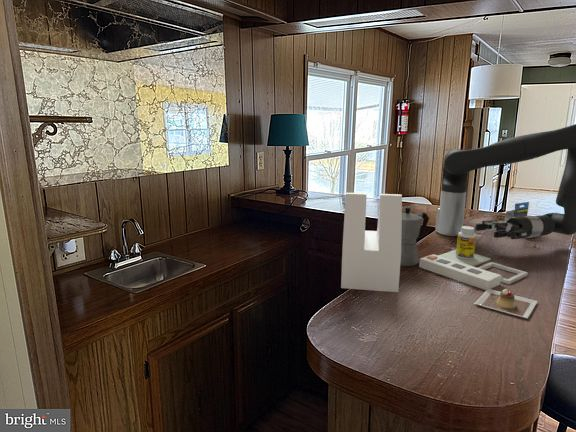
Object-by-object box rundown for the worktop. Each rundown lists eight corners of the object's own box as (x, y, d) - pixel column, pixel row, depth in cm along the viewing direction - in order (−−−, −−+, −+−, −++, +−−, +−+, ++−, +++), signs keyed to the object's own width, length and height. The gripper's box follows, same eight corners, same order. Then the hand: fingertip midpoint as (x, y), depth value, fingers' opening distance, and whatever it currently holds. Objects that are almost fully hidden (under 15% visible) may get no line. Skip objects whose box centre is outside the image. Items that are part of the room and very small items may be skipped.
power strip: (419, 267, 130) (419, 257, 130) (437, 260, 136) (438, 251, 135) (487, 290, 113) (488, 279, 112) (504, 282, 119) (506, 271, 118)
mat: (437, 257, 139) (437, 255, 139) (457, 250, 146) (457, 248, 146) (470, 267, 130) (470, 266, 130) (490, 259, 137) (490, 258, 137)
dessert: (537, 305, 106) (540, 287, 105) (527, 322, 97) (530, 303, 96) (487, 292, 114) (489, 275, 112) (473, 307, 105) (475, 289, 104)
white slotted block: (398, 292, 112) (404, 202, 106) (341, 288, 115) (344, 200, 109) (393, 267, 131) (399, 189, 124) (344, 264, 133) (347, 187, 127)
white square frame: (472, 272, 126) (472, 268, 126) (491, 264, 132) (491, 261, 132) (508, 284, 117) (509, 280, 117) (527, 275, 124) (527, 271, 123)
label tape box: (516, 228, 174) (520, 199, 171) (525, 230, 170) (529, 201, 167) (502, 231, 170) (506, 201, 167) (511, 233, 166) (515, 203, 163)
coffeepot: (397, 269, 129) (401, 212, 124) (378, 259, 137) (381, 206, 132) (435, 261, 135) (440, 207, 130) (415, 253, 143) (419, 202, 139)
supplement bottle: (456, 259, 136) (459, 229, 133) (454, 253, 141) (458, 224, 139) (474, 260, 134) (478, 230, 132) (472, 255, 139) (476, 226, 137)
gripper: (509, 211, 148) (471, 214, 144) (543, 221, 135) (503, 225, 130) (506, 232, 150) (469, 235, 145) (540, 243, 137) (500, 248, 132)
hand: (485, 230), depth 138 cm, fingers open, 8 cm apart
